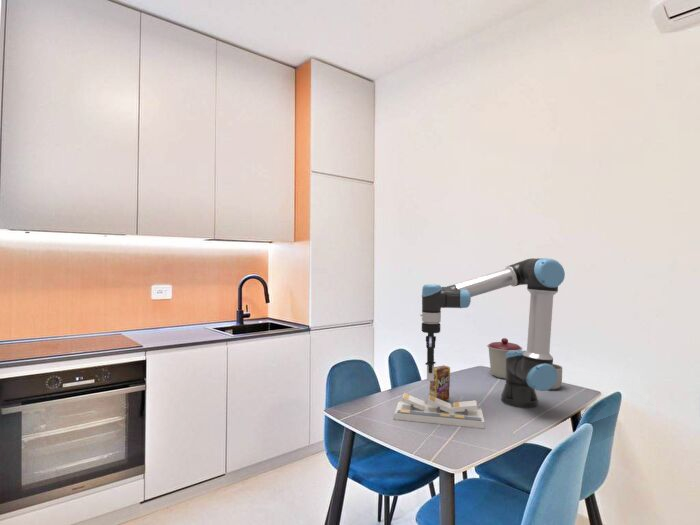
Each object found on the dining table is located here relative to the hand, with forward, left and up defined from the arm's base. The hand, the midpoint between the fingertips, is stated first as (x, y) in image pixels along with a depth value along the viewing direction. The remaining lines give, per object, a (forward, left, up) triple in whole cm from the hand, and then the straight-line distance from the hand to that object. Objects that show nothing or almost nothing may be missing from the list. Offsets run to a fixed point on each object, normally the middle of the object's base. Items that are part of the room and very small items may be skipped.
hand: (430, 380), depth 167 cm
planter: (-57, -54, -15) cm, 80 cm away
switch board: (-4, +1, -14) cm, 15 cm away
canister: (-38, -69, -15) cm, 80 cm away
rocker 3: (-14, 0, -10) cm, 17 cm away
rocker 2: (-4, 0, -10) cm, 11 cm away
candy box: (-4, -19, -15) cm, 24 cm away
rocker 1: (+7, 0, -10) cm, 12 cm away
